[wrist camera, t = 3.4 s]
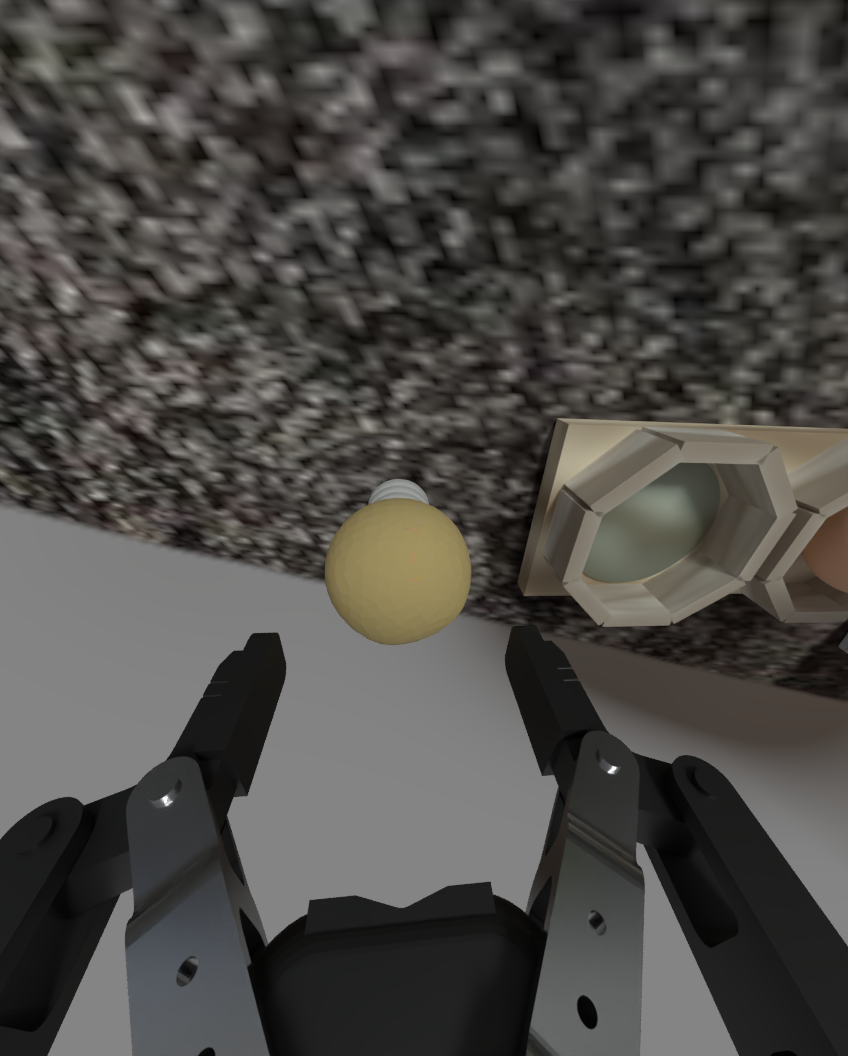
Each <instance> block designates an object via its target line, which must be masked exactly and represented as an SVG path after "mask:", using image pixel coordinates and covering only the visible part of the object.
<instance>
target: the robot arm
mask: <svg viewBox="0 0 848 1056" xmlns="http://www.w3.org/2000/svg"><path fill="white" fill-rule="evenodd" d="M505 666H506V671H507V675H508V678H509V681H510V684H511V686H512V689H513V692H514V695H515V698H516V701H517V704H518V707H519V710H520V713H521V715H522V719H523V721H524V724H525V727H526V730H527V733H528V736H529V739H530V742H531V745H532V748H533V750H534V754H535V756H536V759H537V762H538V765H539V768H540V771H541V774H542V776H546V775H555V778H556V781H557V784H558V786H559V787H558V790H557V793H556V797H555V802H554V806H553V810H552V814H551V819H550V823H549V827H548V831H547V835H546V840H545V844H544V848H543V852H542V856H541V860H540V863H539V866H538V870H537V872H536V875H535V878H534V881H533V884H532V888H531V891H530V896H529V899H528V904H527V908H526V912H523V910H521V909H520V908H519V907H517V906H516V905H514V904H513V903H511V902H509V901H507V900H506V899H503V898H501V897H499V896H496V895H493V893H492V887H491V882H483V883H474V884H463V885H453V886H447V887H445V888H443V889H441V890H439V891H437V892H435V893H433V894H431V895H429V896H427V897H425V898H423V899H422V900H420V901H418V902H416V903H414V904H412V905H410V906H408V907H405V908H397V907H393V906H390V905H386V904H383V903H380V902H376V901H373V900H369V899H366V898H362V897H359V896H346V897H336V898H327V899H317V900H310V902H309V908H308V914H307V915H304V916H302V917H300V918H299V919H297V920H296V921H294V922H293V923H291V924H290V925H288V926H287V927H286V928H285V929H284V930H283V931H281V932H280V933H279V934H278V935H277V936H276V937H275V938H274V939H273V940H272V941H271V942H270V943H269V944H268V941H267V938H266V935H265V931H264V928H263V925H262V922H261V919H260V916H259V913H258V910H257V908H256V905H255V902H254V900H253V898H252V895H251V893H250V890H249V887H248V884H247V881H246V877H245V874H244V870H243V867H242V864H241V860H240V857H239V854H238V850H237V847H236V844H235V840H234V837H233V834H232V830H231V827H230V823H229V820H228V817H227V814H228V811H229V808H230V805H231V802H232V799H233V797H239V796H247V795H248V792H249V789H250V786H251V783H252V780H253V777H254V774H255V771H256V768H257V764H258V761H259V758H260V755H261V752H262V749H263V746H264V743H265V740H266V737H267V734H268V731H269V727H270V724H271V721H272V718H273V715H274V712H275V709H276V705H277V703H278V700H279V697H280V693H281V690H282V687H283V684H284V681H285V676H286V661H285V657H284V653H283V649H282V645H281V641H280V637H279V634H278V633H253V634H252V635H251V636H250V638H249V639H248V641H247V644H246V646H245V648H244V650H243V651H233V652H232V653H231V654H230V655H229V656H228V657H227V658H226V659H225V660H224V661H223V662H222V663H221V664H220V665H219V666H218V668H217V670H216V672H215V674H214V676H213V677H212V680H211V683H210V684H209V685H208V687H207V688H206V691H205V692H204V694H203V698H201V699H200V701H199V703H198V705H197V707H196V709H195V711H194V712H193V714H192V716H191V718H190V720H189V722H188V724H187V725H186V727H185V729H184V731H183V733H182V735H181V736H180V738H179V740H178V742H177V744H176V746H175V747H174V749H173V751H172V753H171V754H170V756H169V757H168V758H167V760H166V761H164V762H163V763H161V764H159V765H158V766H156V767H154V768H153V769H152V770H151V771H149V772H148V773H147V774H146V775H145V776H144V777H143V778H142V779H141V780H140V781H139V783H138V784H137V785H135V786H133V787H131V788H128V789H126V790H123V791H121V792H118V793H116V794H113V795H111V796H108V797H105V798H102V799H100V800H97V801H94V802H92V803H89V804H87V805H83V804H82V803H81V802H80V801H79V800H77V799H75V798H72V797H63V798H58V799H55V800H52V801H50V802H47V803H45V804H43V805H41V806H39V807H38V808H36V809H34V810H33V811H31V812H30V813H28V814H27V815H26V816H24V817H23V818H22V819H20V820H19V821H18V822H17V823H16V824H15V825H14V826H13V827H11V828H10V829H9V831H7V833H6V834H5V835H4V836H3V837H2V838H1V839H0V1056H47V1055H48V1053H49V1051H50V1048H51V1046H52V1044H53V1042H54V1040H55V1037H56V1035H57V1033H58V1031H59V1029H60V1026H61V1024H62V1022H63V1020H64V1018H65V1015H66V1013H67V1011H68V1009H69V1007H70V1004H71V1002H72V1000H73V998H74V996H75V993H76V991H77V989H78V986H79V984H80V982H81V980H82V978H83V976H84V973H85V971H86V969H87V967H88V964H89V962H90V960H91V958H92V956H93V954H94V951H95V949H96V947H97V945H98V943H99V940H100V938H101V936H102V934H103V931H104V929H105V927H106V925H107V923H108V920H109V918H110V916H111V914H112V912H113V909H114V907H115V905H116V903H117V901H118V899H119V896H120V894H121V893H123V892H125V891H127V890H129V889H131V888H133V896H134V913H133V916H132V918H131V919H129V921H128V923H127V926H126V932H125V953H126V967H127V981H128V995H129V1009H130V1024H131V1038H132V1052H133V1056H640V1033H641V998H642V965H643V963H642V962H643V928H644V896H645V884H644V875H643V871H642V869H641V867H640V866H638V864H637V861H636V842H638V843H641V844H643V845H644V847H645V849H646V851H647V854H648V856H649V858H650V860H651V862H652V864H653V867H654V869H655V871H656V873H657V875H658V878H659V880H660V882H661V884H662V887H663V889H664V891H665V893H666V895H667V897H668V900H669V902H670V904H671V906H672V909H673V911H674V913H675V915H676V918H677V920H678V922H679V924H680V926H681V928H682V931H683V933H684V935H685V937H686V940H687V942H688V944H689V946H690V948H691V951H692V953H693V955H694V957H695V959H696V961H697V964H698V966H699V968H700V970H701V973H702V975H703V977H704V979H705V981H706V983H707V986H708V988H709V990H710V992H711V995H712V997H713V999H714V1001H715V1004H716V1006H717V1008H718V1010H719V1012H720V1014H721V1017H722V1019H723V1021H724V1023H725V1025H726V1028H727V1030H728V1032H729V1034H730V1037H731V1039H732V1041H733V1043H734V1045H735V1047H736V1050H737V1052H738V1054H739V1056H848V946H847V945H846V943H845V942H844V941H843V939H842V938H841V936H840V935H839V934H838V932H837V931H836V929H835V928H834V927H833V925H832V924H831V922H830V921H829V920H828V918H827V917H826V915H825V914H824V913H823V911H822V910H821V908H819V906H818V904H817V903H816V901H815V900H814V899H813V897H812V896H811V895H810V893H809V892H808V890H807V889H806V887H805V886H804V885H803V883H802V882H801V880H800V879H799V878H798V876H797V875H796V874H795V872H794V871H793V869H792V868H791V866H790V865H789V864H788V862H787V861H786V860H785V858H784V857H783V855H782V854H781V853H780V851H779V850H778V848H777V847H776V846H775V844H774V843H773V841H772V840H771V839H770V837H769V836H768V835H767V833H766V832H765V830H764V829H763V828H762V826H761V825H760V823H759V822H758V820H757V819H756V818H755V816H754V815H753V813H752V812H751V811H750V809H749V808H748V807H747V805H746V804H745V802H744V801H743V799H742V798H741V797H740V795H739V794H738V792H737V791H736V790H735V788H734V787H733V786H732V784H731V783H730V782H729V781H728V779H727V778H726V777H725V776H724V775H723V774H722V773H720V772H719V771H718V770H717V769H716V768H715V767H713V766H712V765H710V764H709V763H707V762H706V761H703V760H701V759H699V758H697V757H694V756H688V755H683V756H679V757H678V758H676V759H675V760H674V762H673V763H672V764H670V763H666V762H663V761H659V760H655V759H652V758H649V757H645V756H641V755H639V754H636V753H633V752H632V751H630V749H629V748H628V747H627V746H626V745H625V744H624V743H623V742H622V741H621V740H619V739H618V738H616V737H614V736H613V735H611V734H609V733H608V731H607V730H606V728H605V727H604V725H603V723H602V721H601V720H600V718H599V716H598V714H597V712H596V711H595V709H594V707H593V705H592V703H591V701H590V700H589V698H588V696H587V694H586V692H585V690H584V689H583V687H582V685H581V683H580V682H579V681H578V678H577V676H576V674H575V672H574V671H573V670H572V668H571V665H570V663H569V661H568V660H567V658H566V656H565V654H564V653H563V652H562V651H561V650H560V649H559V648H558V647H557V646H556V645H555V644H554V643H553V642H552V641H544V640H543V639H542V637H541V635H540V633H539V631H538V629H537V627H536V626H513V627H512V629H511V633H510V637H509V641H508V646H507V650H506V654H505Z"/></svg>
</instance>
